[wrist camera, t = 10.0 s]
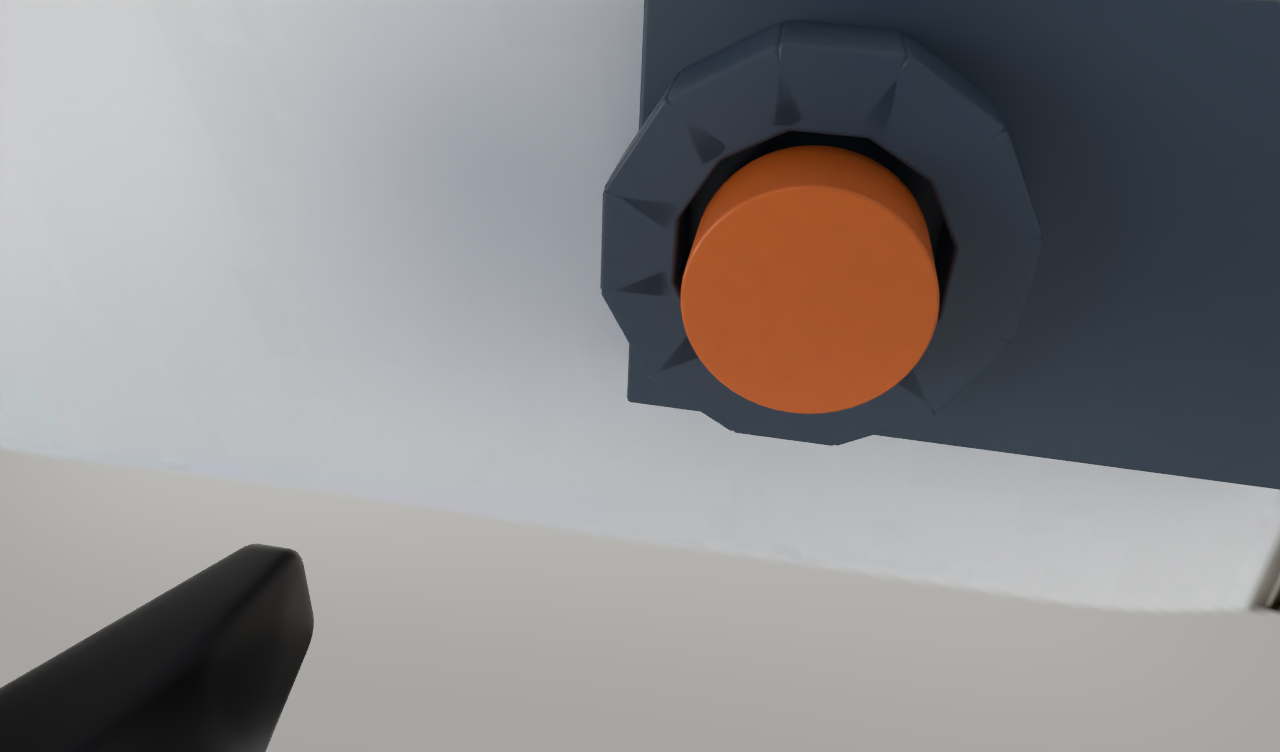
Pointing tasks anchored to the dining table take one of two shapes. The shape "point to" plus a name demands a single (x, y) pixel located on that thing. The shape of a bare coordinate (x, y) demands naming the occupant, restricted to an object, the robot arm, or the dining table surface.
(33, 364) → the dining table surface
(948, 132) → the switch block
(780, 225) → the power button
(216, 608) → the robot arm
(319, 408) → the dining table surface
